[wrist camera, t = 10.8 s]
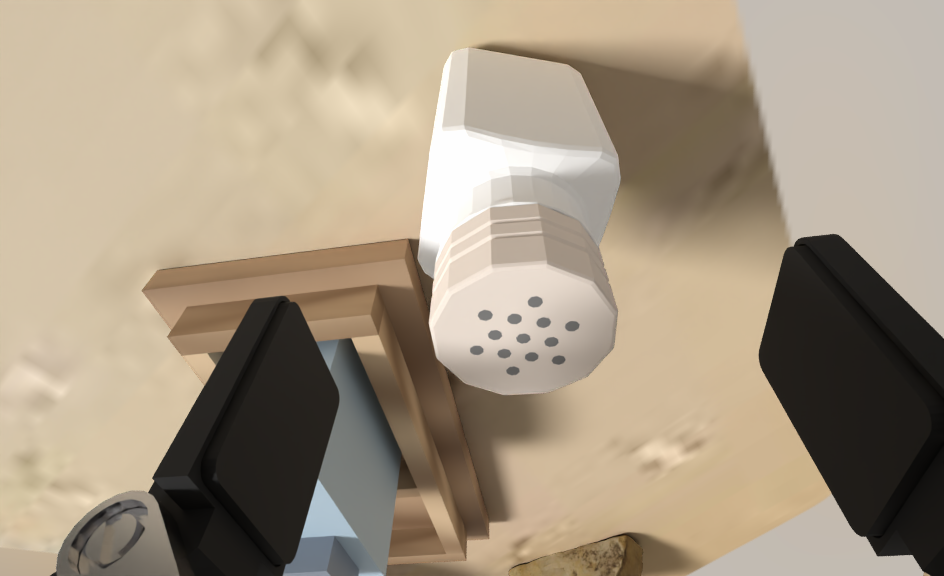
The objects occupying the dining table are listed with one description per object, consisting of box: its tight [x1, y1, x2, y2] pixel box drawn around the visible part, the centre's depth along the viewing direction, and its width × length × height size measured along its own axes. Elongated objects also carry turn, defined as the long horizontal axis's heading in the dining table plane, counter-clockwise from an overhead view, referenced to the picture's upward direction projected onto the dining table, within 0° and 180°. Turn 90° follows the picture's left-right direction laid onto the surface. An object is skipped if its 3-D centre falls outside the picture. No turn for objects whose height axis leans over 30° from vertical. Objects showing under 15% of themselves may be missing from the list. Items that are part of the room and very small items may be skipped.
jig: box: [142, 239, 489, 565], centre depth 25 cm, size 22×10×3 cm, turn 9°
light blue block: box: [283, 338, 402, 576], centre depth 20 cm, size 9×4×7 cm, turn 9°
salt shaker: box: [418, 47, 621, 395], centre depth 12 cm, size 4×4×10 cm
